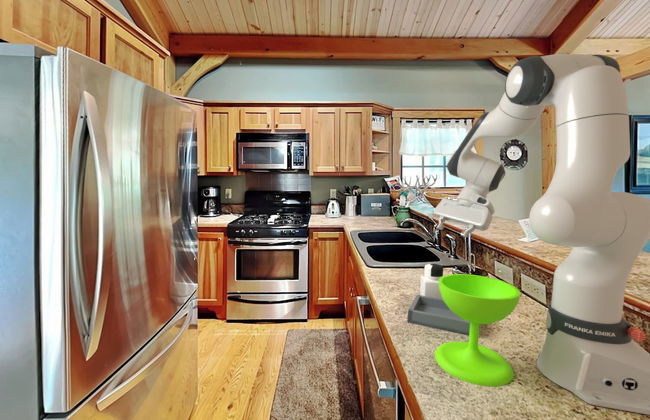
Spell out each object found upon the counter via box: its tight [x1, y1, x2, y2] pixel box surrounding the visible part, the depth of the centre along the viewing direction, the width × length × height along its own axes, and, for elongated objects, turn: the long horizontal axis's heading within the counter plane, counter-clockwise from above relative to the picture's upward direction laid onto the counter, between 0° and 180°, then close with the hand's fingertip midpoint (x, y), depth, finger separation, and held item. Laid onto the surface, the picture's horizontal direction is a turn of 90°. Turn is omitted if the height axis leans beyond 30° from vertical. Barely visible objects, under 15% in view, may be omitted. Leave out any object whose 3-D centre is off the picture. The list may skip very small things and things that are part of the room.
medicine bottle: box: [419, 263, 444, 299], centre depth 105 cm, size 7×7×12 cm
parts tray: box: [407, 294, 470, 336], centre depth 90 cm, size 18×14×4 cm
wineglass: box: [434, 273, 521, 387], centre depth 68 cm, size 16×16×18 cm
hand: (450, 232), depth 110 cm, fingers open, 8 cm apart
